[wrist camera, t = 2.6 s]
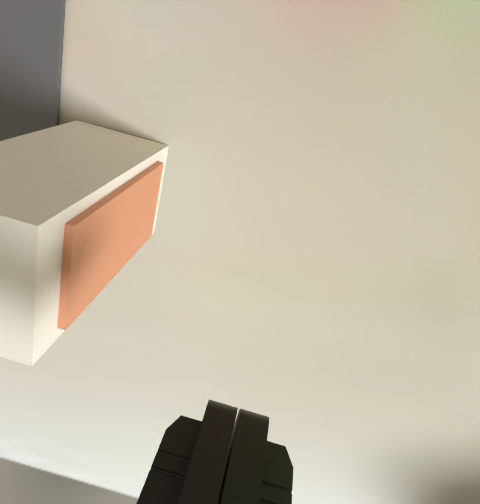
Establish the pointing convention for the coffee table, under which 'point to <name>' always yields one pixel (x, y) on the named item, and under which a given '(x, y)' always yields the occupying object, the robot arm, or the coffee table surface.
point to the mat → (30, 65)
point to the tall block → (68, 225)
